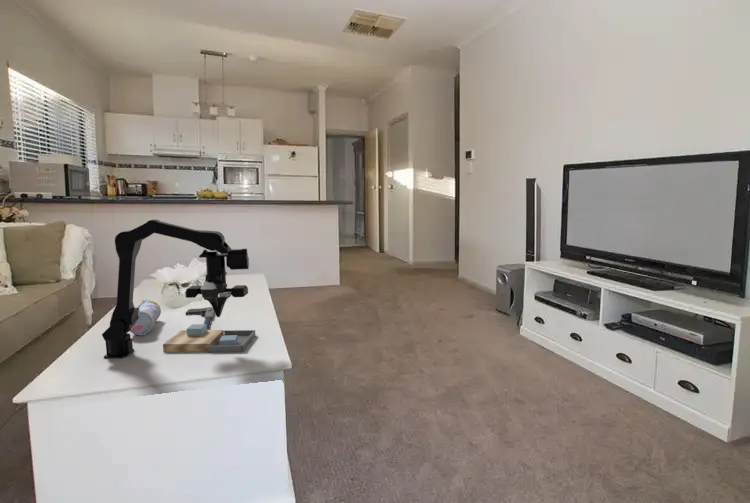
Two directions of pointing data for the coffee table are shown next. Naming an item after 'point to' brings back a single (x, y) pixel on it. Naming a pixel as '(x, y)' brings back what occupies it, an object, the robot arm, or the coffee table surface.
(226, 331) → the tray
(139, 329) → the pencil case
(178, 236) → the robot arm
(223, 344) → the tile near
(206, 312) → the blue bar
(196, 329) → the tile far
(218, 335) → the oak board
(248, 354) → the coffee table surface
